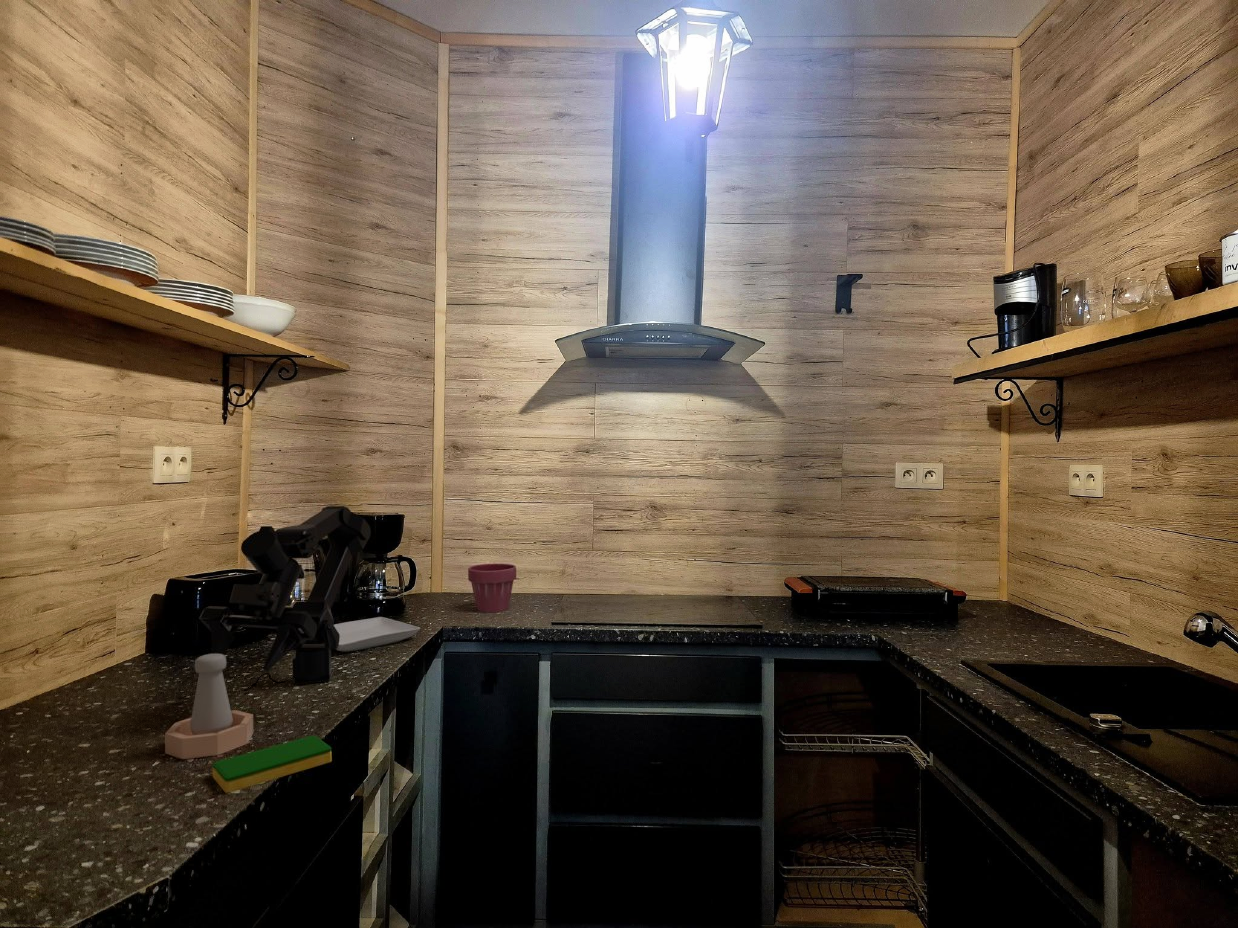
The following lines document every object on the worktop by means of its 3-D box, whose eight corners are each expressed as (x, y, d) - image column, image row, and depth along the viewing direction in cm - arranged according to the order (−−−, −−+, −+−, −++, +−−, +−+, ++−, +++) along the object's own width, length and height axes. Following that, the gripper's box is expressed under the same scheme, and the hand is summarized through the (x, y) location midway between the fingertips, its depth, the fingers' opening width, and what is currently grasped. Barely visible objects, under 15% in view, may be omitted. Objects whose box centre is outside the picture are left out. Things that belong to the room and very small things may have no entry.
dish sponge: (332, 763, 100) (332, 747, 100) (226, 796, 91) (225, 778, 91) (314, 749, 105) (314, 733, 105) (212, 779, 96) (212, 761, 96)
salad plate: (300, 643, 170) (300, 629, 170) (381, 627, 185) (381, 614, 185) (337, 659, 155) (337, 644, 155) (422, 641, 170) (422, 627, 170)
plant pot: (504, 615, 196) (503, 570, 196) (459, 613, 200) (459, 569, 200) (524, 605, 210) (523, 563, 210) (482, 603, 214) (481, 562, 214)
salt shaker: (214, 729, 111) (213, 649, 111) (241, 733, 109) (240, 651, 109) (180, 743, 106) (179, 658, 106) (209, 747, 104) (208, 661, 104)
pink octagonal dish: (257, 725, 114) (257, 707, 114) (241, 752, 104) (241, 732, 104) (181, 734, 111) (181, 715, 111) (157, 762, 100) (157, 741, 100)
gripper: (205, 560, 120) (160, 643, 110) (309, 566, 119) (273, 650, 109) (233, 593, 129) (194, 672, 118) (330, 598, 127) (299, 679, 117)
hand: (238, 668), depth 116 cm, fingers open, 9 cm apart
